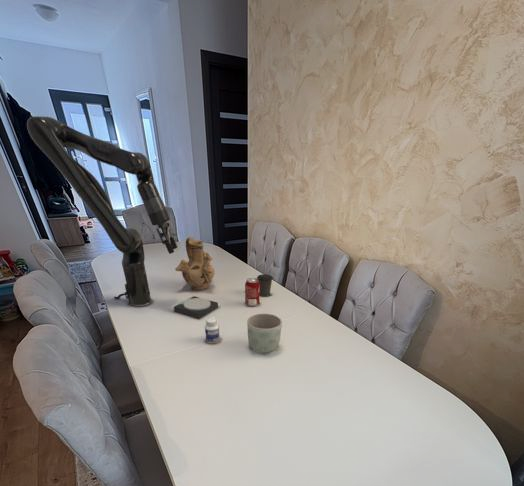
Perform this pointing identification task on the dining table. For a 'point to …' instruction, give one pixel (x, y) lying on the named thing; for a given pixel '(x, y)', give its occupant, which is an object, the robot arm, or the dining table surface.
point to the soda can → (252, 292)
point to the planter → (264, 332)
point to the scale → (196, 307)
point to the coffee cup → (265, 284)
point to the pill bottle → (212, 330)
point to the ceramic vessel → (196, 265)
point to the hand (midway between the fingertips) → (173, 250)
